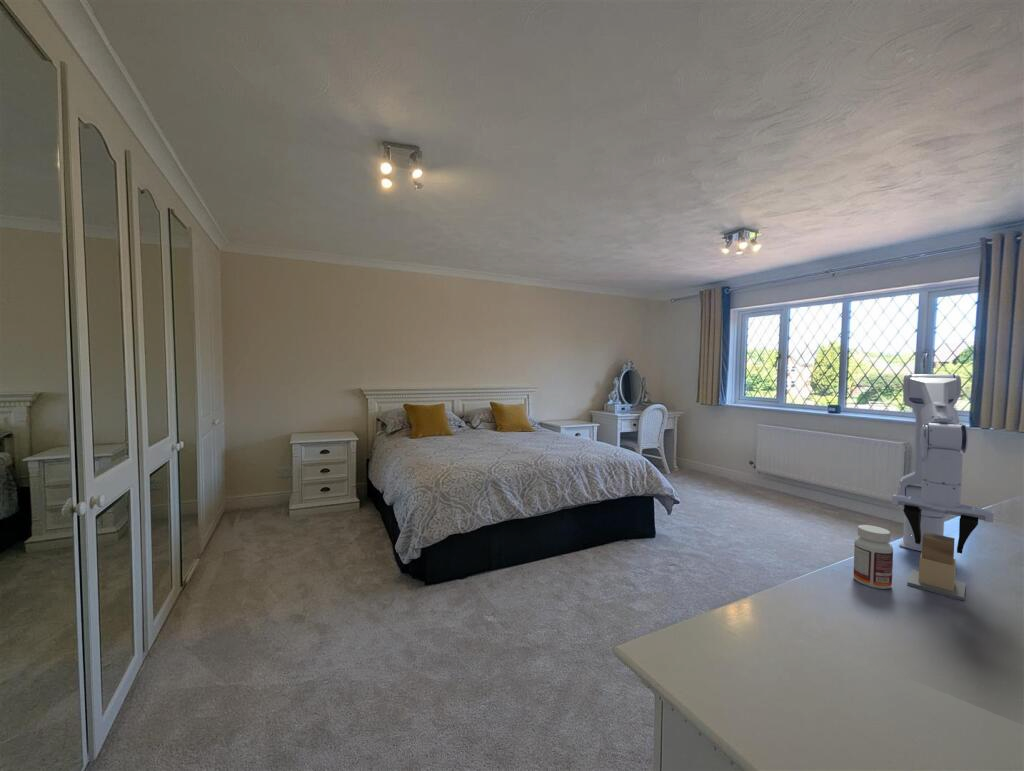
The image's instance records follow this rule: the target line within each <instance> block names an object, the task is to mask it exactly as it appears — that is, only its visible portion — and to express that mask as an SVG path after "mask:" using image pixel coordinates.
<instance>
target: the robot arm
mask: <svg viewBox="0 0 1024 771" xmlns="http://www.w3.org/2000/svg"><path fill="white" fill-rule="evenodd" d="M902 384H903V385H902V393H903V394H902V396H903V397H902V402H903V404H904V406H906V407H909V408H911V409H912V410H913V412H914V415H915V432H914V461H913V462H914V463H913V465H914V466H913V472H910V473H907V474H906V475H903V476H901V477H900V479H899V481H898V489H897V494H893V495H892V499H891V501H892V502H891V505H892V506H899V507H900V509H903V510H902V511H903V513H904V517H903V537H902V539H903V540H902V539H901V541H900V542H899V544H898V546H899V547H901V548H906V549H910V550H914V551H918V552H922V540H923V535H924V533H925V532H927V533H932V534H937V535H942V536H944V534H945V533H944V532H945V530H944V529H945V519H946V518H947V516H951V515H952V516H957V517H959V522H958V523H959V526H958V528H959V529H958V541H957V547H956V553H957V554H963V550H964V546H965V545H966V542H967V540H968V538H969V536H970V535H971V534H972V533H973V531H974V530H975V529H976V528H977V526H978V525H979V520H980V521H984V522H986V523H987V522H988V523H991V524H993V523H994V514H995V513H994V510H990V509H986V508H985V509H984V508H979V507H974V506H971V505H965V504H962V503H961V502H962V501H961V498H962V497H961V496H962V477H963V460H964V459H963V454H965V453H966V452H967V448H968V446H969V433H968V429H967V426H966V424H965V423H963V422H960V418H959V415H958V410H957V409H956V408H955V405H956V404H957V402H958V400H959V398H960V397H961V392H962V378H961V376H960V375H958V374H957V373H952V374H940V373H939V374H934V373H933V374H927V373H926V374H925V373H924V374H923V373H922V374H921V373H920V374H919V373H916V374H915V373H906V374H905V375H904V376H903V382H902ZM961 451H962V453H961ZM920 485H921V486H920ZM911 535H912V536H911Z"/></svg>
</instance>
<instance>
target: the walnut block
mask: <svg viewBox="0 0 1024 771" xmlns="http://www.w3.org/2000/svg"><path fill="white" fill-rule="evenodd" d="M921 553H922V558H924V559H928V560H932V561H936V562H940V563H944V564H948V565H953V560H954V559H955V558H954V556H955V537H951V536H946V535H943V536H942V535H937V534H932V533H927V532H925V533H924V535H923V540H922V551H921Z"/></svg>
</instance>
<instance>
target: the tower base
mask: <svg viewBox="0 0 1024 771" xmlns="http://www.w3.org/2000/svg"><path fill="white" fill-rule="evenodd" d="M956 562H957V560H956V558H954V560H953V565H948V564H944V563H940V562H936V561H932V560H928V559H924V558H922V552H921V554H920V557H919V562H918V563H919V566H918V570H917V569H914V568H912V570H911V572H910V575H909V578H908V580H907V584H906V585H907V586H910V587H913V588H917V589H921V590H925V591H928V592H932V593H933V594H938V595H943V596H946V597H948V598H949V597H950V598H952V599H957V600H959V601H965V594H966V588H967V586H966V582H963V581H959V580H956V564H957V563H956Z"/></svg>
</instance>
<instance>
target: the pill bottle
mask: <svg viewBox="0 0 1024 771" xmlns="http://www.w3.org/2000/svg"><path fill="white" fill-rule="evenodd" d="M857 535H858V536H859V537H856V538H855V540H854V543H853V544H854V550H853V551H854V552H853V579H854V580H855V581H857V582H858V583H860V584H863V585H864V586H867V587H871V588H873V589H882V590H888V589H890V588H891V587H892V585H893V562H894V561H893V560H894V547H893V545H892V544H891V543H890V541H891V532H890V530H888V529H886V528H883V527H880V526H875V525H869V524H859V525H858V526H857Z"/></svg>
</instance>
